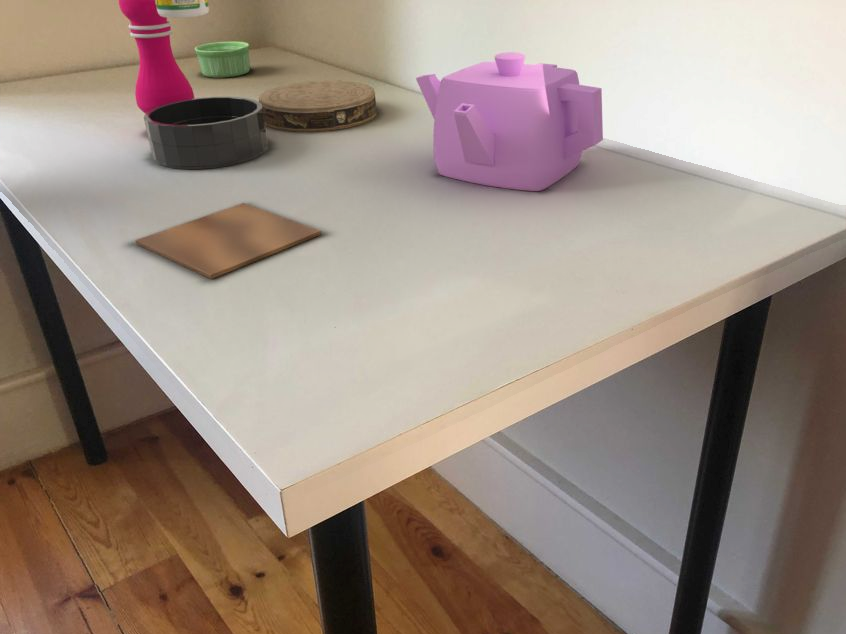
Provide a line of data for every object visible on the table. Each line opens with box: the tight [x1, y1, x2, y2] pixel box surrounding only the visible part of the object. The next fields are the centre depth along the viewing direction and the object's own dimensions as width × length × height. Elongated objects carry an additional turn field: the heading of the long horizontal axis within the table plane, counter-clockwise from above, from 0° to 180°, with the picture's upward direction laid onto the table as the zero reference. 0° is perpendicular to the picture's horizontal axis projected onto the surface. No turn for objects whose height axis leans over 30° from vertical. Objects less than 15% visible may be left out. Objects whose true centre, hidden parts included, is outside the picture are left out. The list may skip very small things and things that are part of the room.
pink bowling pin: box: [118, 0, 196, 114], centre depth 100 cm, size 7×7×20 cm
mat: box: [135, 202, 322, 280], centre depth 73 cm, size 12×12×1 cm
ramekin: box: [194, 40, 251, 79], centre depth 135 cm, size 9×9×4 cm
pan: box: [143, 96, 269, 170], centre depth 96 cm, size 14×14×5 cm
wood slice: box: [258, 80, 378, 133], centre depth 110 cm, size 16×16×3 cm
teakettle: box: [415, 52, 604, 192], centre depth 86 cm, size 17×17×12 cm
